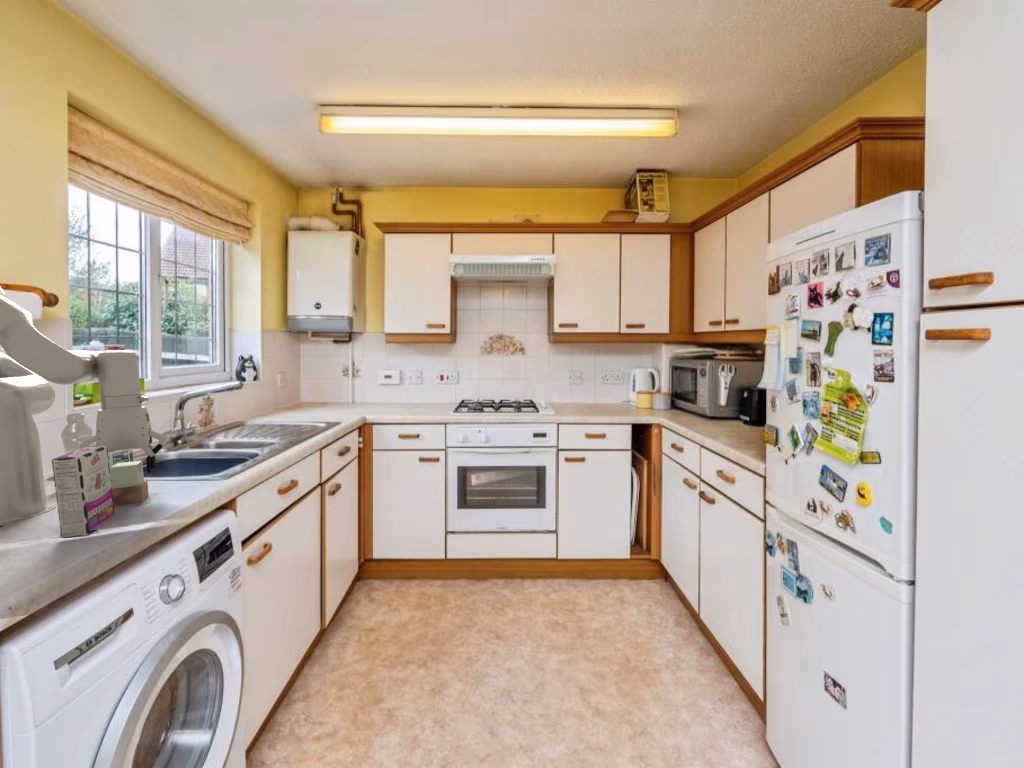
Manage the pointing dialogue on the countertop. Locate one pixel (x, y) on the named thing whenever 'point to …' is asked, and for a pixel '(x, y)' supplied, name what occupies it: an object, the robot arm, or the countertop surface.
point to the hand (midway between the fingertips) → (128, 474)
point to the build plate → (146, 501)
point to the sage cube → (127, 474)
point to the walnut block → (130, 494)
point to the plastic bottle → (75, 432)
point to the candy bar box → (83, 490)
